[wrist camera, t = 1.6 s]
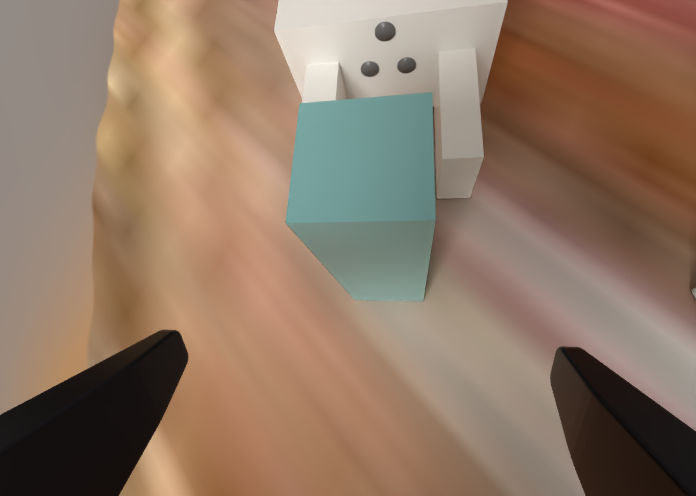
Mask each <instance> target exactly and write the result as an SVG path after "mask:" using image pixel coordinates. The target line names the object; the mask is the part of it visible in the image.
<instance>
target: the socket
mask: <svg viewBox="0 0 696 496" xmlns="http://www.w3.org/2000/svg"><path fill="white" fill-rule="evenodd" d="M507 3H508V0H279V3H278V9H277V16H276V22H275V28H274V32H275V34H276V37H277V39H278V42H279V44H280V46H281V49H282V51H283V54H284V56H285V58H286V61H287V63H288V66H289V68H290V70H291V73H292V75H293V78H294V80H295V82H296V85H297V87H298V90H299V92H300V94H301V97H302V99H303V100H302V103H309V102H321V101H333V100H345V99H356V98H368V97H380V96H392V95H404V94H416V93H428V92H432V99H433V107H434V121H435V156H436V192H437V199H446V198H470V197H471V194H472V191H473V188H474V185H475V182H476V179H477V176H478V173H479V170H480V167H481V164H482V161H483V158H484V151H483V138H482V126H481V113H480V103H482V99H483V95H484V92H485V88H486V84H487V80H488V76H489V72H490V68H491V65H492V61H493V57H494V53H495V49H496V45H497V41H498V38H499V34H500V30H501V26H502V22H503V18H504V14H505V11H506V7H507Z"/></svg>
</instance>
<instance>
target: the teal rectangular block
mask: <svg viewBox="0 0 696 496" xmlns="http://www.w3.org/2000/svg"><path fill="white" fill-rule="evenodd" d="M435 222H436V210H435V173H434V136H433V99H432V92H428V93H416V94H404V95H392V96H380V97H368V98H356V99H345V100H333V101H321V102H309V103H300V104H299V113H298V121H297V130H296V138H295V147H294V155H293V164H292V172H291V181H290V190H289V198H288V207H287V215H286V224H287V225H288V226H289V227H290V229H291V230H292V231H293V232H294V233H295V234H296V235H297V236H298V237H299V239H300V240H301V241H302V242H303V243H304V244H305V245H306V246H307V247H308V249H309V250H310V251H311V252H312V253H313V254H314V255H315V256H316V258H317V259H318V260H319V261H320V262H321V263H322V264H323V265H324V266H325V268H326V269H327V270H328V271H329V272H330V273H331V274H332V275H333V277H334V278H335V279H336V280H337V281H338V282H339V283H340V284H341V285H342V287H343V288H344V289H345V290H346V291H347V292H348V293H349V294H350V295H351V297H352V298H353V299H354V300H378V301H422V302H423V300H424V294H425V287H426V281H427V274H428V268H429V261H430V255H431V248H432V242H433V235H434V228H435Z"/></svg>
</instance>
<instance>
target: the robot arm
mask: <svg viewBox="0 0 696 496" xmlns="http://www.w3.org/2000/svg"><path fill="white" fill-rule="evenodd" d="M187 362H188V352H187V349H186V347H185V344H184V342H183V339H182V336H181V334H180V333H179V332H178V331H176V330H160V331H158V332H156V333H155V334H153V335H151V336H149V337H147V338H145V339H143V340H141V341H139V342H137V343H136V344H134V345H132V346H130V347H128V348H126V349H124V350H122V351H120V352H119V353H117V354H115V355H113V356H111V357H109V358H107V359H105V360H103V361H101V362H100V363H98V364H96V365H94V366H92V367H90V368H88V369H86V370H84V371H83V372H81V373H79V374H77V375H75V376H73V377H71V378H69V379H68V380H66V381H64V382H62V383H60V384H58V385H56V386H54V387H52V388H50V389H48V390H46V391H45V392H43V393H41V394H39V395H37V396H35V397H33V398H32V399H30V400H28V401H26V402H24V403H22V404H20V405H18V406H16V407H14V408H12V409H11V410H9V411H7V412H5V413H3V414H1V415H0V496H119V494H120V493H121V491H122V489H123V487H124V486H125V484H126V482H127V480H128V478H129V477H130V475H131V473H132V471H133V470H134V468H135V466H136V464H137V463H138V461H139V459H140V457H141V455H142V454H143V452H144V450H145V448H146V447H147V445H148V443H149V441H150V440H151V438H152V436H153V434H154V432H155V431H156V429H157V427H158V425H159V423H160V421H161V420H162V418H163V416H164V413H165V411H166V409H167V407H168V405H169V403H170V400H171V398H172V396H173V394H174V392H175V389H176V387H177V385H178V383H179V381H180V378H181V376H182V374H183V372H184V369H185V367H186V365H187ZM550 381H551V387H552V390H553V394H554V398H555V401H556V405H557V409H558V412H559V416H560V420H561V423H562V427H563V431H564V434H565V438H566V442H567V445H568V449H569V452H570V455H571V459H572V461H573V464H574V467H575V470H576V472H577V475H578V477H579V480H580V482H581V485H582V488H583V490H584V493H585V495H586V496H696V431H695V430H693V429H692V428H690V427H689V426H688V425H686V424H685V423H684V422H682V421H681V420H679V419H678V418H677V417H675V416H674V415H673V414H671V413H670V412H668V411H667V410H666V409H664V408H663V407H662V406H660V405H659V404H657V403H656V402H655V401H653V400H652V399H651V398H649V397H648V396H646V395H645V394H644V393H642V392H641V391H640V390H638V389H637V388H636V387H634V386H633V385H631V384H630V383H629V382H627V381H626V380H625V379H623V378H622V377H620V376H619V375H618V374H616V373H615V372H614V371H612V370H611V369H609V368H608V367H607V366H605V365H604V364H603V363H601V362H600V361H598V360H597V359H596V358H594V357H593V356H592V355H590V354H589V353H587V352H586V351H585V350H583V349H582V348H579V347H565V346H561V347H559V348H558V349H557V350H556V353H555V357H554V362H553V366H552V370H551V375H550Z"/></svg>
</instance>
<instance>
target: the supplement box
mask: <svg viewBox="0 0 696 496" xmlns="http://www.w3.org/2000/svg"><path fill="white" fill-rule="evenodd" d="M692 294H693V295H694V297H695V298H696V288H694V289H692Z"/></svg>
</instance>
